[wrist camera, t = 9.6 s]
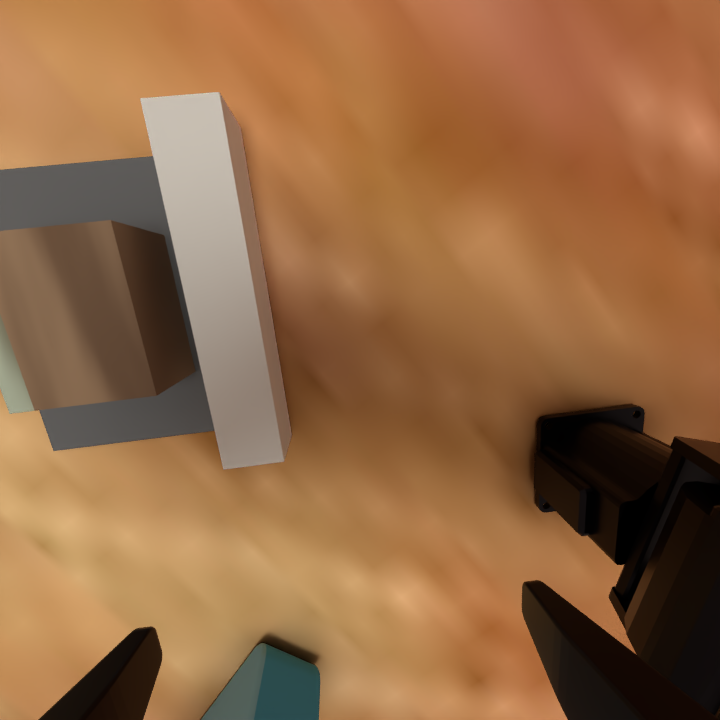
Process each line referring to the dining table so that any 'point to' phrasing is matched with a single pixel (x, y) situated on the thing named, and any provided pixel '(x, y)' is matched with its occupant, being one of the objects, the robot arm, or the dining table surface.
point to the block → (88, 316)
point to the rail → (221, 272)
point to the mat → (146, 211)
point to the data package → (269, 689)
